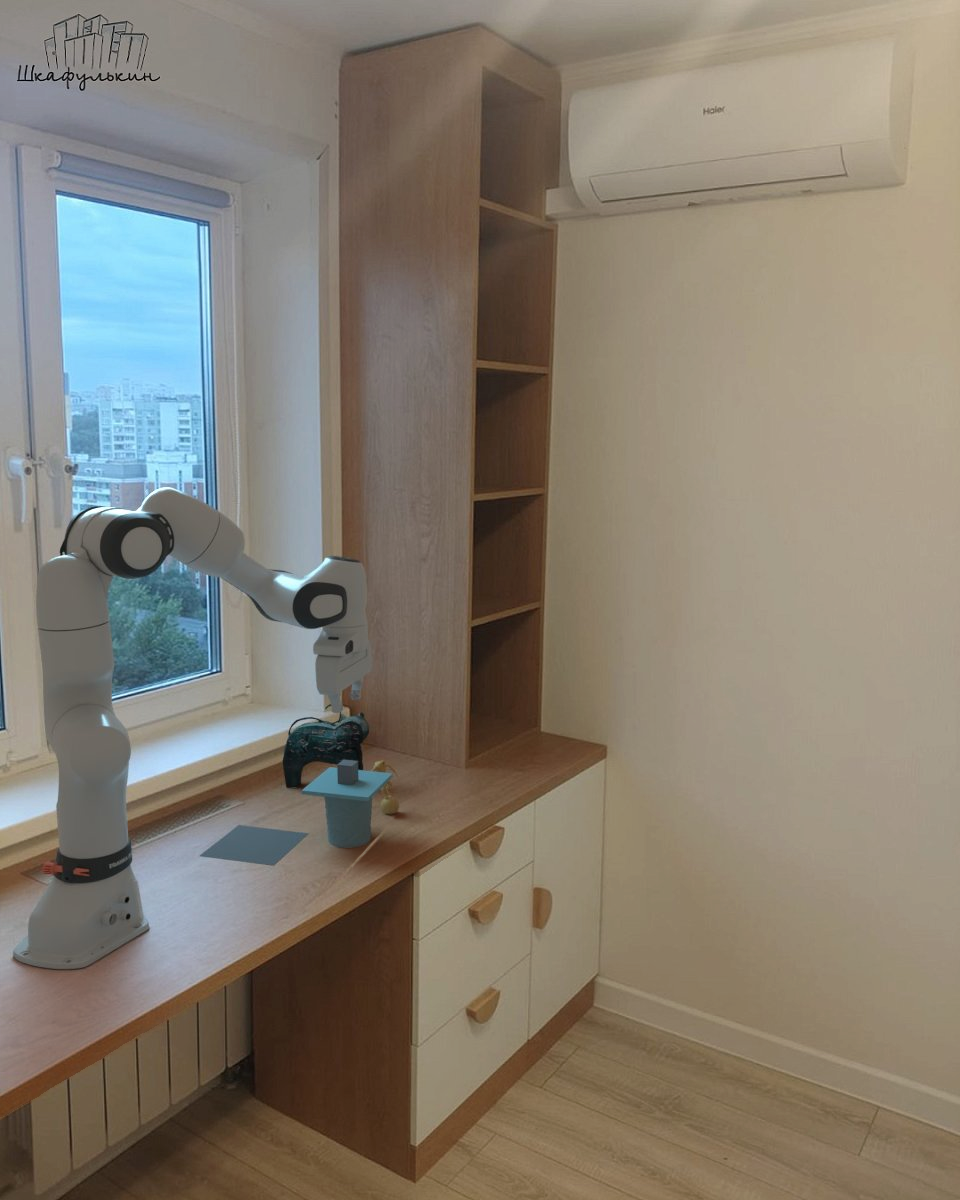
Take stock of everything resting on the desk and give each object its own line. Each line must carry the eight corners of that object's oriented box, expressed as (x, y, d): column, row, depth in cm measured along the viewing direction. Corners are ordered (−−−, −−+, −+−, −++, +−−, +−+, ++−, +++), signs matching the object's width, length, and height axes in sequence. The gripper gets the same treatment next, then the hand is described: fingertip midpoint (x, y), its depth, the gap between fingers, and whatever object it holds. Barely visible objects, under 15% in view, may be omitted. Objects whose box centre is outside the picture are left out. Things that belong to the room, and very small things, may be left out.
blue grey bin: (329, 854, 212) (328, 797, 210) (320, 834, 222) (318, 779, 219) (379, 847, 216) (378, 791, 213) (368, 828, 225) (367, 774, 223)
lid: (368, 801, 208) (367, 777, 207) (301, 794, 211) (300, 771, 211) (392, 777, 221) (392, 754, 220) (329, 770, 225) (329, 748, 224)
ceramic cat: (371, 784, 251) (369, 701, 247) (365, 794, 244) (363, 709, 241) (288, 780, 253) (285, 698, 249) (280, 790, 246) (277, 706, 243)
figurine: (383, 822, 228) (382, 768, 226) (363, 815, 232) (362, 762, 230) (409, 810, 235) (408, 758, 232) (388, 804, 238) (388, 752, 236)
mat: (273, 868, 206) (273, 865, 206) (199, 858, 210) (199, 855, 210) (308, 836, 221) (308, 833, 221) (238, 827, 225) (238, 824, 225)
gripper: (350, 626, 221) (351, 690, 224) (309, 647, 202) (310, 718, 205) (379, 627, 220) (380, 693, 222) (340, 650, 200) (341, 721, 203)
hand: (346, 705), depth 213 cm, fingers open, 8 cm apart
